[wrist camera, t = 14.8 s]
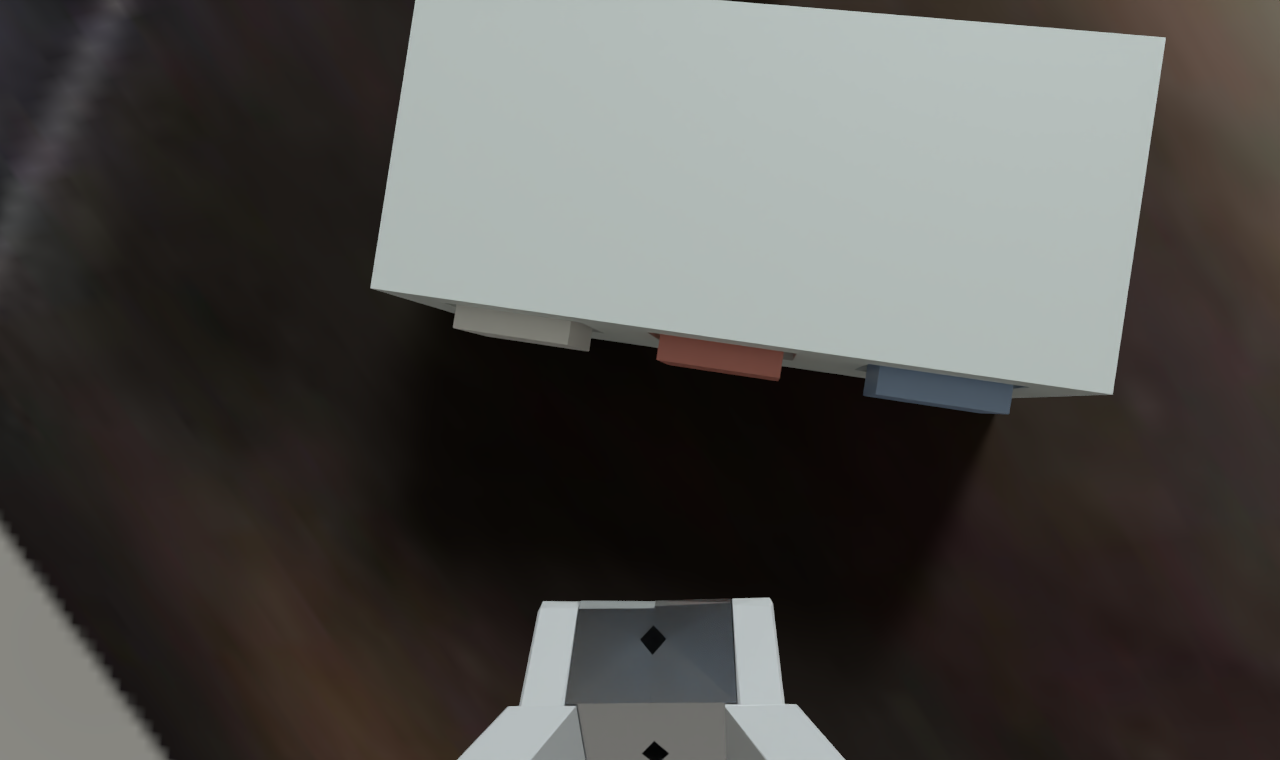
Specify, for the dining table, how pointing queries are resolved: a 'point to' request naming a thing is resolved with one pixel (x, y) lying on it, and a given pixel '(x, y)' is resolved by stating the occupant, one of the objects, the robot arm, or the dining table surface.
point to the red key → (720, 357)
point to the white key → (523, 327)
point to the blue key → (937, 390)
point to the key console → (778, 181)
